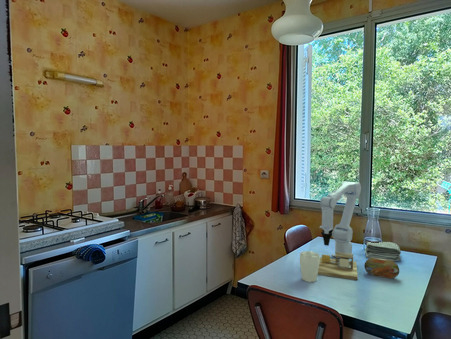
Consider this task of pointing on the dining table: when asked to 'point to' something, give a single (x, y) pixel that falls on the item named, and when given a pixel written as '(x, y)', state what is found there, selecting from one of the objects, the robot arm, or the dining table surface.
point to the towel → (383, 251)
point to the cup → (309, 265)
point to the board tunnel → (339, 268)
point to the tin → (381, 268)
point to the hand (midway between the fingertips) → (326, 243)
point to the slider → (327, 260)
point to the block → (344, 262)
